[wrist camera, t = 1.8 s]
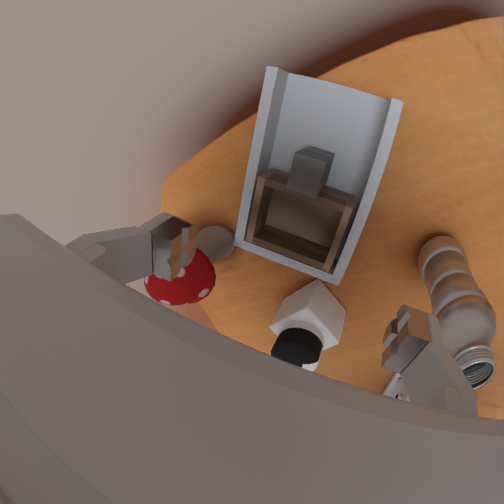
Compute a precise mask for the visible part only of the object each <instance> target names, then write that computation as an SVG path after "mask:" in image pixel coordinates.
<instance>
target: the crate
mask: <svg viewBox="0 0 504 504" xmlns="http://www.w3.org/2000/svg"><path fill="white" fill-rule="evenodd" d="M334 155H335V153H332V152H329V151H326V150H323V149H320V148H317V147H313V146H308V147H305V148H303V149H301V150H299V151H297V152H295V153H294V157H293V161H292V165H291V169H290V173H287V172H284V171H281V170H277V169H274V168H272V169H270V170H269V171H267V172H265V173H263V174H261V175H260V176H258V180H257V185H256V190H255V195H254V200H253V205H252V210H251V215H250V220H249V225H248V230H247V235H246V240H247V241H249V242H252V243H255V244H257V245H260V246H262V247H265V248H268V249H270V250H273V251H276V252H278V253H281V254H283V255H286V256H289V257H291V258H294V259H296V260H299V261H302V262H304V263H307V264H309V265H312V266H314V267H317V268H320V269H322V270H325V271H327V272H329V270H330V268H331V265H332V263H333V261H334V258H335V255H336V253H337V250H338V248H339V245H340V243H341V240H342V237H343V235H344V232H345V229H346V227H347V224H348V221H349V218H350V216H351V213H352V210H353V206H354V201H355V196H354V195H352V194H349V193H346V192H343V191H341V190H338V189H335V188H332V187H330V186H327V185H325V184H326V182H327V179H328V176H329V172H330V169H331V165H332V162H333V158H334Z"/></svg>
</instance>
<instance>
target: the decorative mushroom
mask: <svg viewBox="0 0 504 504" xmlns="http://www.w3.org/2000/svg"><path fill="white" fill-rule="evenodd" d="M234 239H235V235H234V234H233V232H232V231H231V230H230V229H228V228H226V227H225V226H221V225H213V226H208V227H206V228H203V229H202V230H200V231H199V232H198V234H197V236H196V238H195V240H194V241H195V243H196V252H195V255H194V258H193V259H192V261H191V263H190V264H189V265H188V266H186V267H182V268H180V273H179V274H178V275H177V276H176V277H175V278H174V279H173V280H172V281H171V282H170V281H168V280H166V279H164V278H161V277H159V276H157V275H155V274H152V275H150V276H147V277H144V284H145V287H146V290H147V292H148V293H149V295H150V296H151V297H152V298H153V299H155V300H156V301H158V302H160V303H162V304H166V305H173V306H174V305H181V304H191V303H196V302H198V301H200V300H202V299H203V298H205V297H207V296H208V295H209V293H210V292H211V290H212V289H213V287H214V285H215V279H216V275H215V270H214V267H213V265H212V263H214V262H216V261H217V260H220V259H223V258H226V257H228V256H229V255H231V253H232V252H233V251H234V247H235V246H234Z"/></svg>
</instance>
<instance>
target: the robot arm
mask: <svg viewBox="0 0 504 504" xmlns="http://www.w3.org/2000/svg"><path fill="white" fill-rule="evenodd" d="M197 231H198V227H197V226H196V224H193V223H191V222H188V221H186V220H183V219H181V218H178V217H176V216H173V215H171V214H168V213H161V214H159V215H158V216H156V217H154V218H153V219H151V220H149V221H148V222H146V223H144V224H143V225H141V226H140V227H136V226H134V227H127V228H120V229H114V230H107V231H101V232H95V233H89V234H83V235H82V236H80V237H78V238H77V239H75V240H73V241H72V242H71V243H69V244H67V245H66V246H63V245H61V244H60V243H59V242H57V241H56V240H54V239H53V238H51V237H50V236H48V235H47V234H46V233H44V232H43V231H42V230H40V229H39V228H37V227H36V226H35V225H33V224H32V223H31V222H29V221H28V220H26V219H25V218H24V217H23V216H21V215H19V214H5V215H0V504H504V420H501V419H494V418H486V417H480V416H478V410H477V401H476V393H475V391H474V390H473V388H472V386H471V385H470V383H469V381H468V380H467V378H466V377H465V375H464V374H463V372H462V371H461V369H460V368H459V366H458V364H457V363H456V361H455V360H454V359H453V357H452V356H451V354H450V353H449V351H448V350H447V348H445V347H443V342H442V336H441V331H440V326H439V320H438V318H437V316H435V315H432V314H429V313H426V312H423V311H420V310H417V309H415V308H412V307H409V306H406V305H402V306H401V307H400V309H399V310H398V312H397V318H396V319H394V320H392V321H391V322H390V324H389V325H388V327H387V329H386V331H385V333H384V337H383V346H384V347H385V351H384V352H383V353H382V366H381V367H382V368H385V369H388V370H391V371H394V372H395V373H394V375H393V377H392V378H391V380H390V382H389V383H388V385H387V387H386V388H385V390H384V392H383V393H382V394H378V393H375V392H372V391H368V390H365V389H362V388H359V387H355V386H352V385H349V384H346V383H343V382H340V381H337V380H334V379H331V378H328V377H326V376H323V375H320V374H317V373H314V372H312V371H309V370H306V369H304V368H301V367H298V366H296V365H293V364H291V363H288V362H285V361H283V360H280V359H278V358H275V357H273V356H270V355H268V354H266V353H263V352H261V351H258V350H256V349H254V348H251V347H249V346H247V345H244V344H242V343H240V342H238V341H235V340H233V339H231V338H229V337H226V336H224V335H222V334H220V333H218V332H216V331H213V330H211V329H209V328H207V327H205V326H203V325H201V324H199V323H197V322H195V321H193V320H191V319H189V318H187V317H185V316H183V315H181V314H179V313H177V312H175V311H173V310H171V309H169V308H167V307H165V306H163V305H162V304H160V303H158V302H156V301H154V300H152V299H150V298H149V297H147V296H145V295H143V294H141V293H140V292H138V291H136V290H134V289H132V288H131V287H129V286H127V285H125V284H126V283H129V282H132V281H135V280H138V279H141V278H144V277H147V276H150V275H152V274H155V275H157V276H159V277H161V278H164V279H166V280H168V281H170V282H171V281H172V280H173V279H174V278H175V277H176V276H177V275H178V274H179V273H180V268H182V267H186V266H188V265H189V264H190V263H191V261H192V259H193V258H194V255H195V252H196V243H195V241H194V238H195V237H196V236H197Z"/></svg>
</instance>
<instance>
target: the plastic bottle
mask: <svg viewBox="0 0 504 504" xmlns="http://www.w3.org/2000/svg"><path fill="white" fill-rule="evenodd" d="M418 270H419V273H420V275H421V277H422V279H423V281H424V283H425V284H426V286H427V289H428V291H429V294H430V298H431V306H432V315H435V316H437V318H438V320H439V326H440V331H441V336H442V342H443V347H445V348H447V350H448V351H449V353H450V354H451V356H452V357H453V359H454V360H455V361H456V363H457V364H458V366H459V368H460V369H461V371H462V372H463V374H464V375H465V377H466V378H467V380H468V381H469V383H470V385H471V386H472V388H473V389H476V388H478V387H480V386H482V385H484V384H485V383H487V382H488V381H489V380H490V379H491V377H492V376H493V374H494V372H495V364H494V360H493V351H492V348H491V344H492V342H493V339H494V336H495V333H496V314H495V311H494V309H493V307H492V305H491V304H490V302H489V301H488V300H487V298H486V297H485V295H484V294H483V293H482V291H481V290H480V289H479V287H478V285H477V283H476V282H475V280H474V278H473V276H472V274H471V271H470V268H469V265H468V260H467V256H466V253H465V251H464V248H463V247H462V246H461V244H459V243H458V242H457V241H456V240H455V239H453V238H451V237H449V236H436V237H434V238H432V239H430V240H428V241H427V242H426V243H425V244H424V245H423V247H422V248H421V250H420V253H419V257H418Z"/></svg>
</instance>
